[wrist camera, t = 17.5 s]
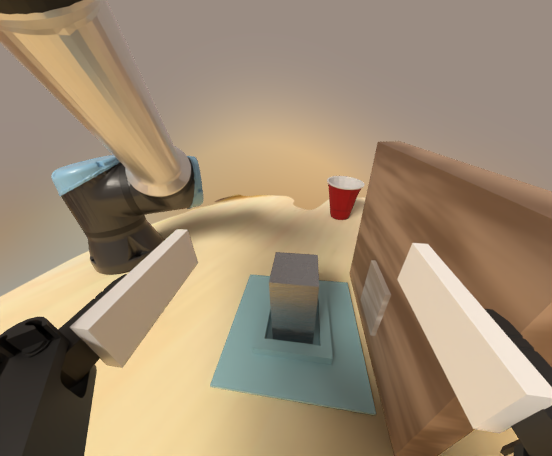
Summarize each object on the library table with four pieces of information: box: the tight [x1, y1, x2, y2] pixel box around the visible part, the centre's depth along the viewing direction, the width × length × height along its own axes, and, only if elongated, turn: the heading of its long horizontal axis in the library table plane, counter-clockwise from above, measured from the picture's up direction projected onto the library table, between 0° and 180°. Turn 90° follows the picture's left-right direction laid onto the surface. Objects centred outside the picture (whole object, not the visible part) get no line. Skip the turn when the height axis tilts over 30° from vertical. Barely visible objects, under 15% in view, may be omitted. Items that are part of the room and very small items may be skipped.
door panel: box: [350, 141, 552, 456], centre depth 24 cm, size 4×26×26 cm, turn 172°
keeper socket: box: [210, 275, 376, 415], centre depth 32 cm, size 20×20×2 cm
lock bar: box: [269, 252, 319, 344], centre depth 29 cm, size 6×6×12 cm
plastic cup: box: [327, 176, 364, 220], centre depth 62 cm, size 11×11×12 cm
